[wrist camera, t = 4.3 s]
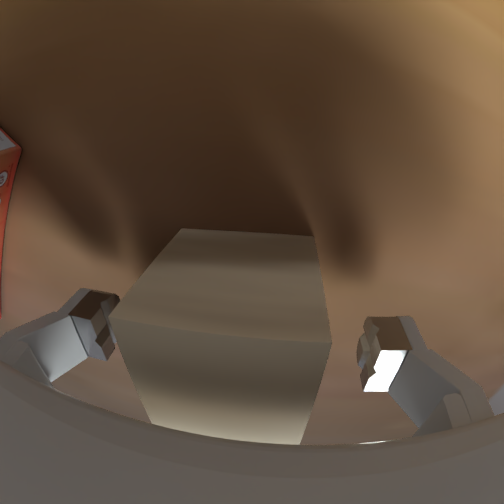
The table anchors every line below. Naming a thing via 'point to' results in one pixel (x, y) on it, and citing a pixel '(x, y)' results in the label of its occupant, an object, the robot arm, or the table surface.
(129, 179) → the table surface
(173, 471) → the robot arm
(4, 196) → the cracker box
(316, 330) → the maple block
